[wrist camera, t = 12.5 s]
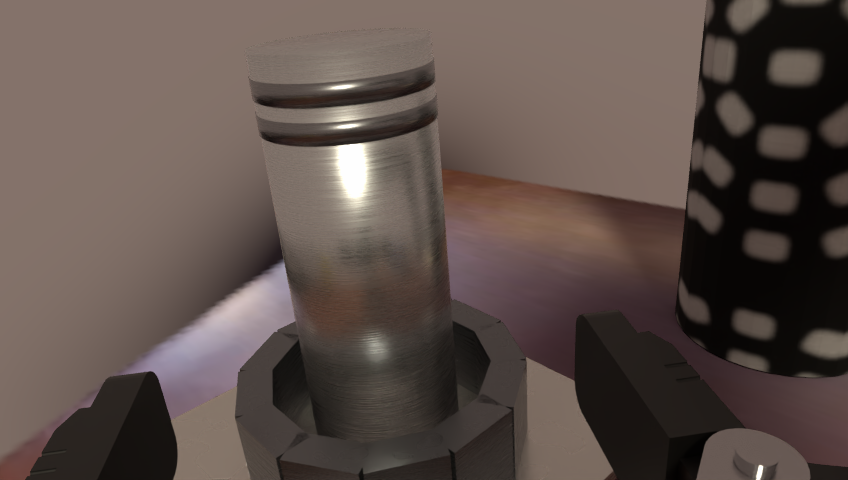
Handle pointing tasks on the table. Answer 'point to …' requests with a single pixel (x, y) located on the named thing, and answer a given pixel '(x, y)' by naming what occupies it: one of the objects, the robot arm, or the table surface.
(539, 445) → the ring collar
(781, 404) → the table surface
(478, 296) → the table surface
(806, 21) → the white-spotted black cylinder
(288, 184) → the piston
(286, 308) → the table surface
